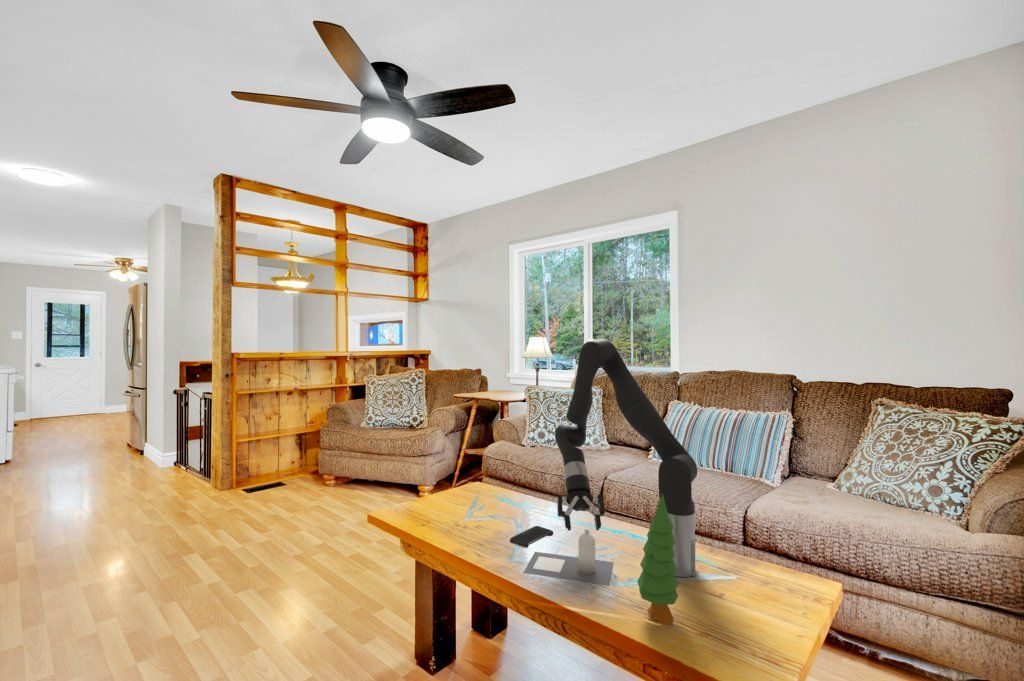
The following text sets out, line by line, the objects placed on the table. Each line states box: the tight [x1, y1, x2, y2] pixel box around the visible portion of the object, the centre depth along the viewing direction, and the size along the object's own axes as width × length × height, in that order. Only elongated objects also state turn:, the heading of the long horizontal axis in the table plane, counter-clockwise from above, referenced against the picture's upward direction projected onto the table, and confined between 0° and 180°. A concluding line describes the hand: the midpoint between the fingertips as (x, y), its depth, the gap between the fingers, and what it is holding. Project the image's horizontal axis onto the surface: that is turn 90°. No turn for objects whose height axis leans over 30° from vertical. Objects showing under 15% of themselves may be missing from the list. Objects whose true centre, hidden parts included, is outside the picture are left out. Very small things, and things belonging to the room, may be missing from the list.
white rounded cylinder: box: [577, 528, 596, 574], centre depth 135 cm, size 5×5×12 cm
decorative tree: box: [637, 494, 680, 625], centre depth 114 cm, size 10×9×30 cm
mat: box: [522, 551, 614, 586], centre depth 137 cm, size 24×14×1 cm, turn 73°
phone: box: [509, 525, 554, 548], centre depth 159 cm, size 8×1×15 cm
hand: (583, 529), depth 139 cm, fingers open, 8 cm apart
